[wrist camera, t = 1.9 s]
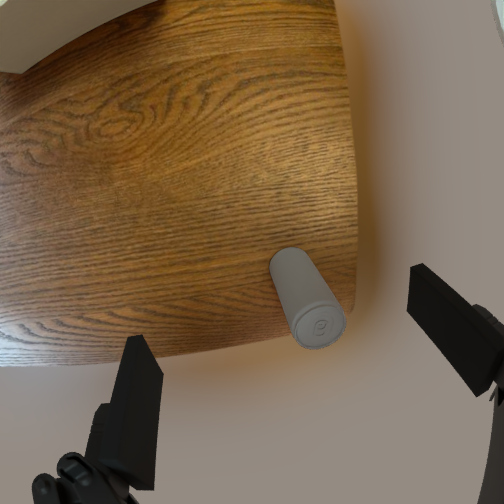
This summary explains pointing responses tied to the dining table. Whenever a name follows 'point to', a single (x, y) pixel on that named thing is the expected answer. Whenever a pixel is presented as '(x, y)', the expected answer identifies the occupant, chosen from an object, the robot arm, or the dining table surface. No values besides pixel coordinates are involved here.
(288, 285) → the beverage can
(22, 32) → the cream box
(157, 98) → the dining table surface
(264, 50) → the dining table surface
